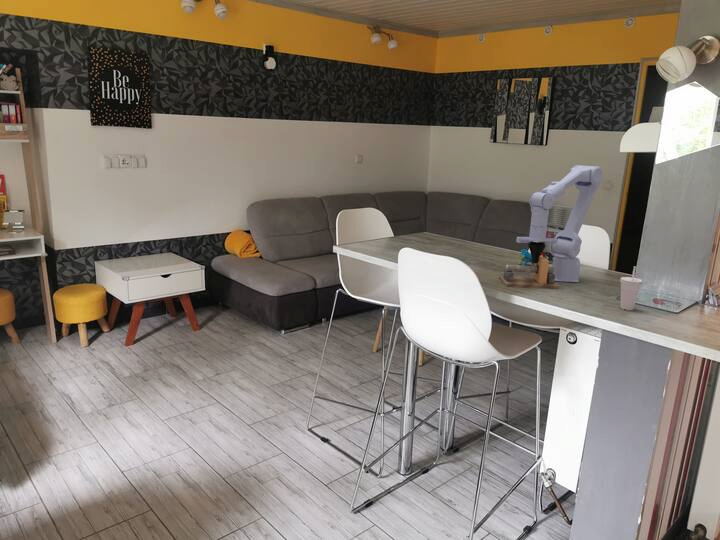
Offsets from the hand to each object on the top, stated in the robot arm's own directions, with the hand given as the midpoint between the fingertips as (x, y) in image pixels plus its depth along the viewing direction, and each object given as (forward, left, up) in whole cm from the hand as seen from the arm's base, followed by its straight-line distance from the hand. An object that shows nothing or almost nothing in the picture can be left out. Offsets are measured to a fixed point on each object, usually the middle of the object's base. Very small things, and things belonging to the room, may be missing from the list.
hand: (534, 262), depth 204 cm
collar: (-2, 0, -7) cm, 7 cm away
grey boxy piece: (-21, -40, -8) cm, 46 cm away
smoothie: (-23, +28, -8) cm, 37 cm away
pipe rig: (+1, 0, -8) cm, 8 cm away
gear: (-7, -31, -8) cm, 33 cm away
